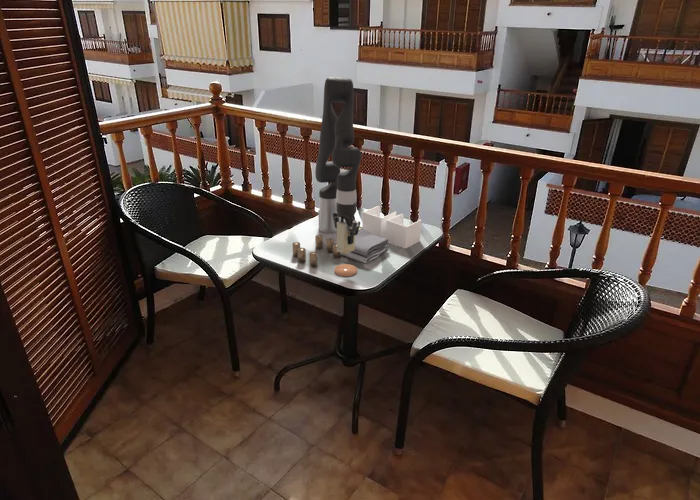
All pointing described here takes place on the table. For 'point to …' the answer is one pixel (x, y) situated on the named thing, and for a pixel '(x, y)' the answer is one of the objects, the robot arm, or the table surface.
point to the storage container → (391, 228)
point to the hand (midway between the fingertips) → (346, 241)
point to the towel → (367, 246)
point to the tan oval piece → (345, 270)
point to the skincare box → (344, 239)
